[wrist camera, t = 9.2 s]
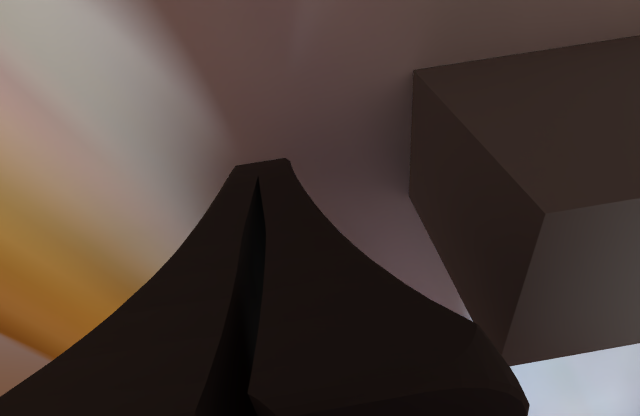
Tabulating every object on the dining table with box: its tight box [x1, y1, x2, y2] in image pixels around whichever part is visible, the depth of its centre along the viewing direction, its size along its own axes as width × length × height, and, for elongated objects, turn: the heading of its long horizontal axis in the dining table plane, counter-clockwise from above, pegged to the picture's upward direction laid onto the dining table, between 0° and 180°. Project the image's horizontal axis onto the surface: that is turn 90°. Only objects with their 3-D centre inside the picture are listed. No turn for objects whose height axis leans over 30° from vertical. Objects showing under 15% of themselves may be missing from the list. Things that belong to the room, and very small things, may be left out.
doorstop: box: [409, 36, 640, 366], centre depth 9 cm, size 8×4×6 cm, turn 96°
